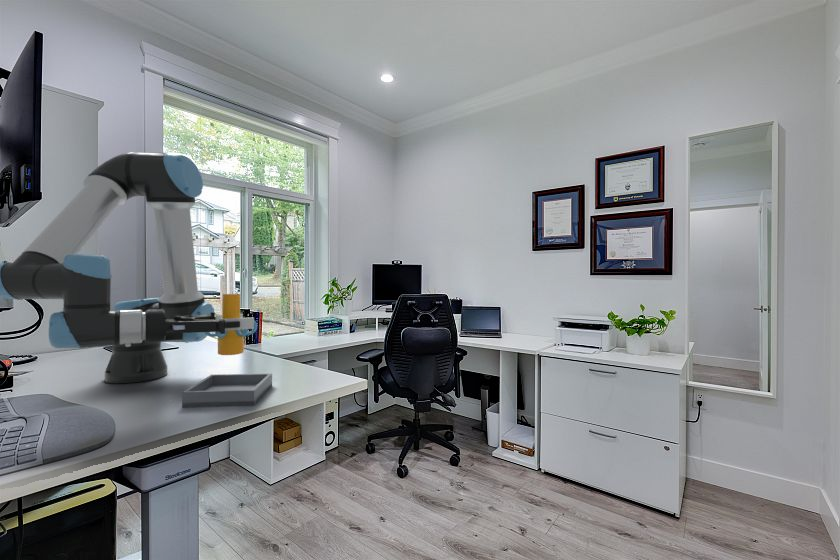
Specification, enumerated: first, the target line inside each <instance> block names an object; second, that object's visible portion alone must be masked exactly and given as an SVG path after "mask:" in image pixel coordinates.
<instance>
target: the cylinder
mask: <svg viewBox="0 0 840 560" xmlns="http://www.w3.org/2000/svg"><path fill="white" fill-rule="evenodd" d="M240 314H241V294H240V293H223V294H222V314H221V315H222V318H220V319H218V320H221V319H223V320H224V319H232V318H240ZM257 330H258V323H257V322H256V320H255V319H254V329H251V330H250V331H249V329H242V330H226V331H225V334H221V332H214V333H212V332H210V333H209V332H205V334H206V335H208V336H207V337H211V338H216V337H217V354H218V355H220V356H235V355H241V354H243V353H244V352H245V337H246V336H250V335H253V334H255V333H256V331H257Z"/></svg>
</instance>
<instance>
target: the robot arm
mask: <svg viewBox="0 0 840 560" xmlns="http://www.w3.org/2000/svg"><path fill="white" fill-rule="evenodd" d="M203 181H204V180H203V177H202V174H201V171H200V168H199V166H198V165H197V164H196V163H195V161H194V159H192V157H190V156H188V155H186V154H183V153H176V152H125V153H121V154H118V155H116V156H113V157H112V158H110V159H108V160H106V161H104V162H103V163H101V164H99V166H97V167H96V168H95V169H93V171H92V172H91V173H89V174H88V175H87V176H86V177H85V179H84V180H83V188H82V189H81V190H80V191H79V192H78V193H77V194H76V195H75V196H74V197H73V198H72V199H71V200H70V201H69V203H67V204H66V206H65V207H64V208H63V209H61V211H60V212H59V213H58V214H57V215H56V216H55V217H54V219H52V220H51V222H50V223H49V224H48V225H47V226H46V227H45V228H44V229H43V230H42V231H41V233H39V234H38V236H37V237H35V239H34V240H33V241H32V242H31V243H30V244H29V245H28V246H27V247H26V249H24V251H22V252H21V254H20V255H19V256H18V257H17V258H16V259H15V260H13V262H7V261H6V262H1V263H0V299H7V300H9V299H10V300H17V301H18V300H63V308H62V309H63V310H61V311H59V312H53V313H52V314H51V315H50V317H49V320H48V321H49V322H48V341H49V344H50V346H51V347H53V348H54V349H84V348H85V349H86V348H95V347H97V348H98V347H106V346H107V347H108V346H112V351H111V355H110V357H109V361H108V364H107V367H106V368H105V371H104V382H105V383H109V384H131V383H133V384H134V383H139V382H146V381H150V380H151V381H152V380H156V379H160V378H162V377H165V376H166V375H168V365H167V361H166V359H165V357H164V354H163V352H162V348H161V347H162V346H161V343H163V342H164V343H185V344H188V343H195V342H201V341H202V342H203V340H206V338H207V337H209V336H208V335H206V334H205V332H209V333H215V332H221V334H225V331H226V330H242V329H244V330H245V329H248V330H253V329H254V320H255V317H243V315H244V313H240V318H232V319H224V320H223V319H221V320H218V319H220V318H222V315H223V314H216V313H215V308H214V307H213V304H211V303H209V302H206V300H205V294H203V293H202V292H201V291H199V290H198V280H197V270H196V268H197V267H196V259H195V248H194V247H195V246H194V238H193V228H192V219H191V218H192V217H191V209H192V207H194V206H195V205H196V198H197V197H199V196H201V194H202V192H203V188H204V182H203ZM139 196H140V197H145V199H146V201H145V202H146V204H147V205H148V206H150V207H151V208H152V209H153V212H154V221H155V223H154V224H155V231H156V238H157V248H158V255H159V256H158V257H159V264H160V273H161V283H162V289H163V290H162V291H163V294H161V296H160V297H151V298H143V299H133V300H126V301H125V300H124V301H118V302H116V303H115V304H114V305H113V306H112V310H111V294H112V292H111V291H112V278H113V277H112V273H111V260H110V259H109V257H108V256H105V255H101V254H99V255H98V254H79V253H80V251H81V250H82V248H83V247H84V246H85V245H86V244H87V243H88V241H89V240H90V239H91V238H92V236H93V235H94V234H95V233H96V232H97V230H99V228H100V227H101V226H102V224H103V223H104V222H105V220H106V219H107V218H108V217H109V216H110V214H111V213H112V212H113V211H114V209H116V208H117V207H120V206H123V205H124V204H125V203H126V202H127V201H128V200H129V199H132V198H134V197H139Z"/></svg>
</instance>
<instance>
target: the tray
mask: <svg viewBox="0 0 840 560" xmlns="http://www.w3.org/2000/svg"><path fill="white" fill-rule="evenodd" d="M272 387H273V373H238V374H237V373H236V374H235V373H234V374H233V373H230V374H229V373H227V374H226V373H225V374H224V373H223V374H210V375H209V376H207V377H204V378H203V379H202V380H199V381H198V382H197V383H195V384H193V385H192V386H190V387H189V388H187V389H185V390H183V391H182V392H181V394H182V395H181V397H182V399H181V402H182V403H181V408H202V407H203V408H205V407H207V408H208V407H209V408H210V407H241V406H243V407H244V406H255V405H256V404H257V403H258V402H259V401H260V400H261V399H262V397H264V396H265V394H267V393H268V392H269V390H270V389H272Z"/></svg>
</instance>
